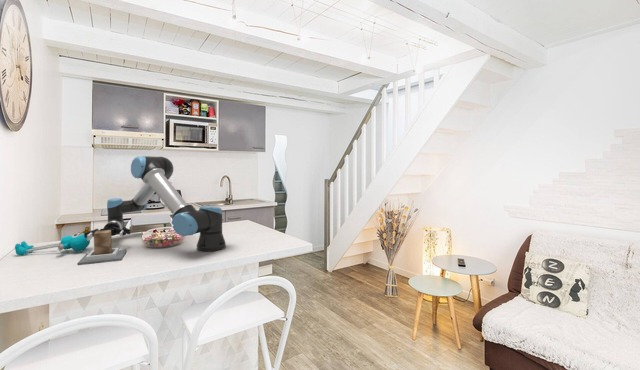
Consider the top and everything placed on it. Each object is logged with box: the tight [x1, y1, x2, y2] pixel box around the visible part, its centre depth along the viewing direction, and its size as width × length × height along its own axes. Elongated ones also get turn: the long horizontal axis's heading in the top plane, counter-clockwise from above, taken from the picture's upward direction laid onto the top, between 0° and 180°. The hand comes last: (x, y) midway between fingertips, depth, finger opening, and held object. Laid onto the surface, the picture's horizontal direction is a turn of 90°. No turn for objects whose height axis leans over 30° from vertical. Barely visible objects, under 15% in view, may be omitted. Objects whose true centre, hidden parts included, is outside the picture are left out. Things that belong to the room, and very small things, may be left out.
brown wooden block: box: [93, 230, 113, 255], centre depth 149 cm, size 6×6×12 cm
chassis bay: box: [77, 247, 127, 266], centre depth 149 cm, size 17×15×3 cm
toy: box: [14, 232, 91, 256], centre depth 157 cm, size 22×10×30 cm
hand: (104, 236), depth 154 cm, fingers open, 13 cm apart
